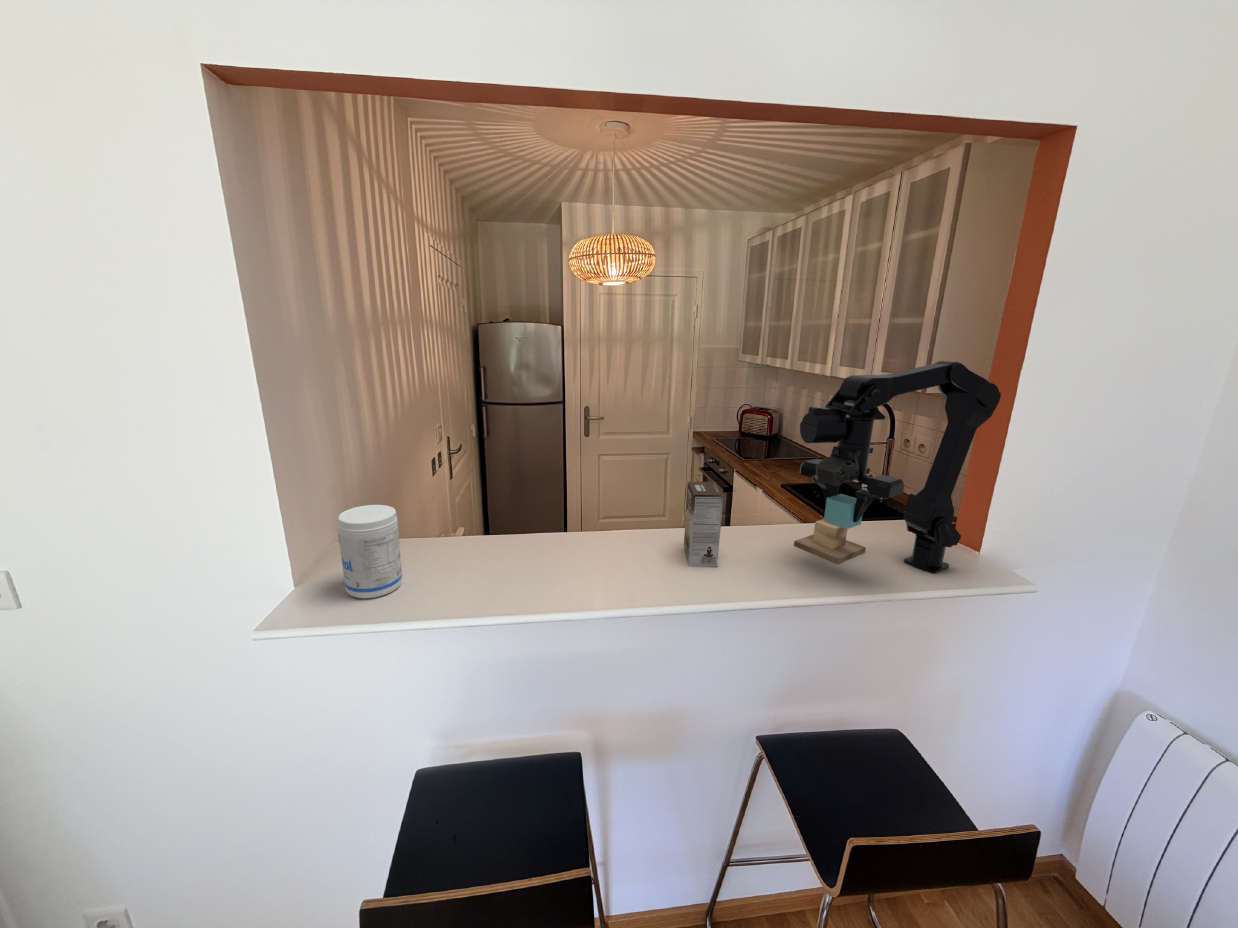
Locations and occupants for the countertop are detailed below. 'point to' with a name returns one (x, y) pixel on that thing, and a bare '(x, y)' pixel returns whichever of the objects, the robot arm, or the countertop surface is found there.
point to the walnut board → (827, 553)
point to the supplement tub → (370, 550)
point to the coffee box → (703, 523)
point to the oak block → (829, 535)
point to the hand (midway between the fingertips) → (842, 517)
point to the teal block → (841, 511)
